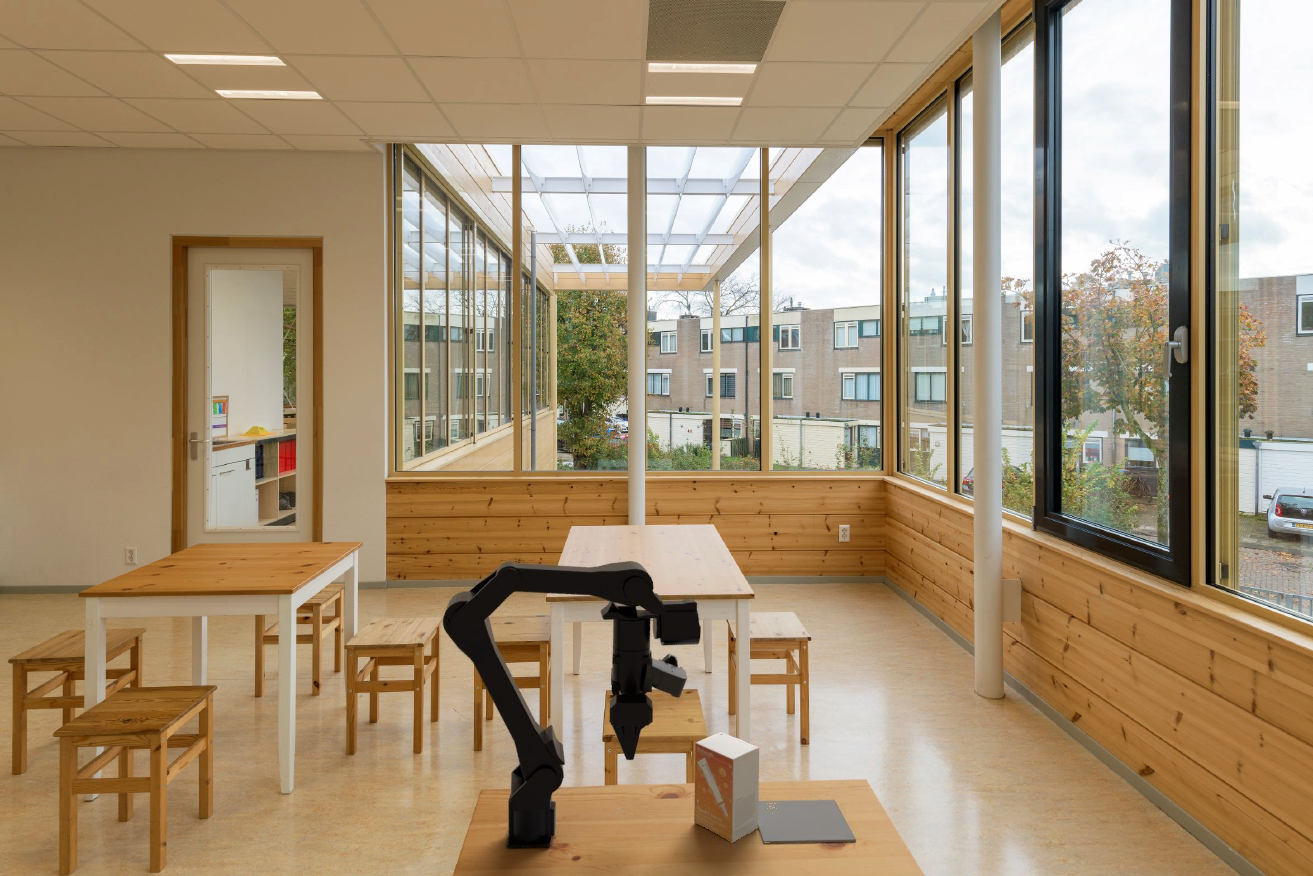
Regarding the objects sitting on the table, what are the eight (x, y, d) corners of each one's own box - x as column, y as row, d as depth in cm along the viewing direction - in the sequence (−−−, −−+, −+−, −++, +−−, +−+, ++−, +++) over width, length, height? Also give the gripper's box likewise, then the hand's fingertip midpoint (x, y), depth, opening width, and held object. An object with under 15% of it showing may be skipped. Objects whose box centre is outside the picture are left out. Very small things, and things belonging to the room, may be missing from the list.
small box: (693, 823, 125) (693, 741, 125) (720, 809, 130) (721, 730, 129) (732, 844, 119) (733, 759, 119) (759, 829, 124) (760, 746, 123)
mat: (763, 843, 120) (763, 841, 120) (750, 803, 132) (750, 801, 132) (856, 841, 120) (856, 839, 120) (834, 801, 132) (834, 799, 132)
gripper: (688, 666, 113) (686, 774, 114) (679, 629, 132) (677, 722, 133) (610, 666, 113) (608, 774, 114) (612, 628, 132) (610, 722, 132)
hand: (629, 746), depth 123 cm, fingers open, 9 cm apart
